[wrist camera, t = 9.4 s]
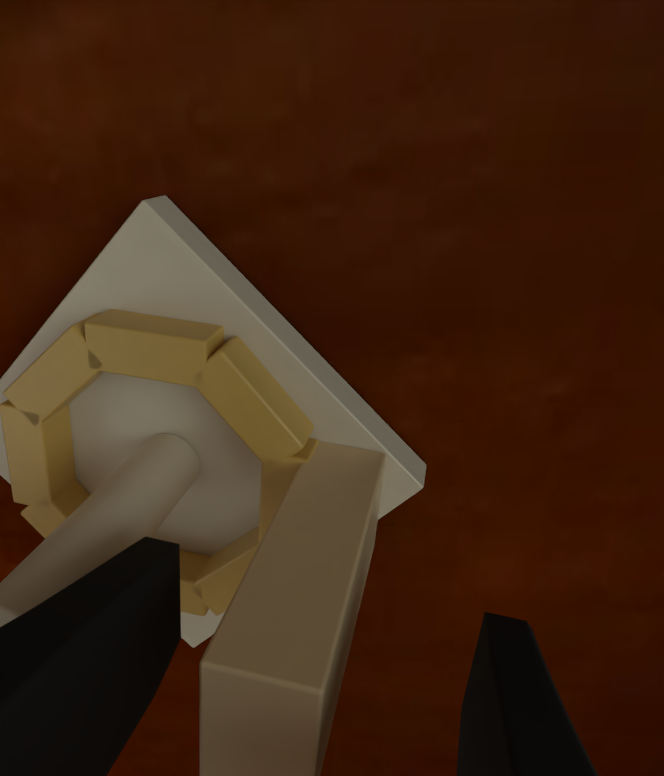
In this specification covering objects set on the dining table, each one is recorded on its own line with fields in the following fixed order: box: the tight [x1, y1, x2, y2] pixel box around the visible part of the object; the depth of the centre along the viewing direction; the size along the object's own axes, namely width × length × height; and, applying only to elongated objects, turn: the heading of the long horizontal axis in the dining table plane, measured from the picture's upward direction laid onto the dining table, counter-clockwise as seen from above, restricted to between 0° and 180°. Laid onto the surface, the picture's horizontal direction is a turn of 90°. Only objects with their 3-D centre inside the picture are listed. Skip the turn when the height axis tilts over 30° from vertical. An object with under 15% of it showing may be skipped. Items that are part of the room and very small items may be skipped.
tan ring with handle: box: [0, 309, 386, 776], centre depth 11 cm, size 8×7×6 cm
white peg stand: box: [0, 195, 426, 648], centre depth 12 cm, size 8×8×6 cm
